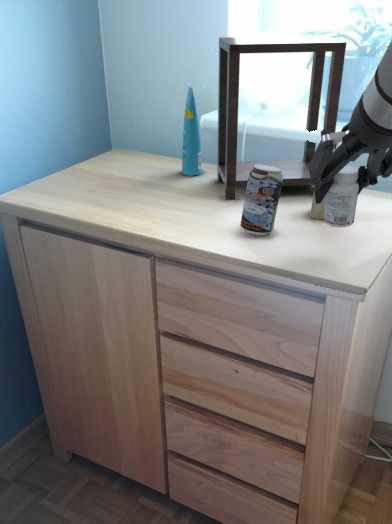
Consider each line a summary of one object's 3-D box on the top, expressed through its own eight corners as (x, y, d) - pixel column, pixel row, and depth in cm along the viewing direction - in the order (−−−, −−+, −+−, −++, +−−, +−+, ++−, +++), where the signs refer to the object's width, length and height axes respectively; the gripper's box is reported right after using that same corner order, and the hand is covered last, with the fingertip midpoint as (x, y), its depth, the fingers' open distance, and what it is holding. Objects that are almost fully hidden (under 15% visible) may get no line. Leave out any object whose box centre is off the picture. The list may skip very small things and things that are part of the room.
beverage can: (233, 231, 103) (235, 166, 97) (261, 222, 107) (265, 158, 101) (257, 242, 99) (261, 174, 93) (285, 231, 103) (291, 166, 96)
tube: (179, 169, 137) (177, 83, 126) (199, 168, 138) (198, 82, 127) (185, 178, 131) (183, 89, 120) (205, 176, 132) (205, 88, 121)
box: (309, 218, 109) (315, 160, 103) (312, 210, 112) (318, 154, 106) (336, 221, 107) (345, 162, 101) (339, 213, 111) (347, 156, 105)
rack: (327, 195, 120) (346, 42, 104) (226, 200, 118) (229, 44, 102) (309, 176, 131) (324, 35, 115) (217, 180, 130) (219, 37, 113)
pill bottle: (335, 215, 92) (342, 163, 87) (359, 222, 89) (368, 169, 84) (317, 222, 89) (322, 169, 85) (341, 230, 86) (348, 176, 82)
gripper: (323, 136, 66) (282, 219, 89) (467, 130, 67) (390, 213, 90) (315, 80, 68) (276, 176, 90) (456, 75, 69) (383, 170, 92)
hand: (333, 194), depth 90 cm, fingers closed on pill bottle, 5 cm apart
